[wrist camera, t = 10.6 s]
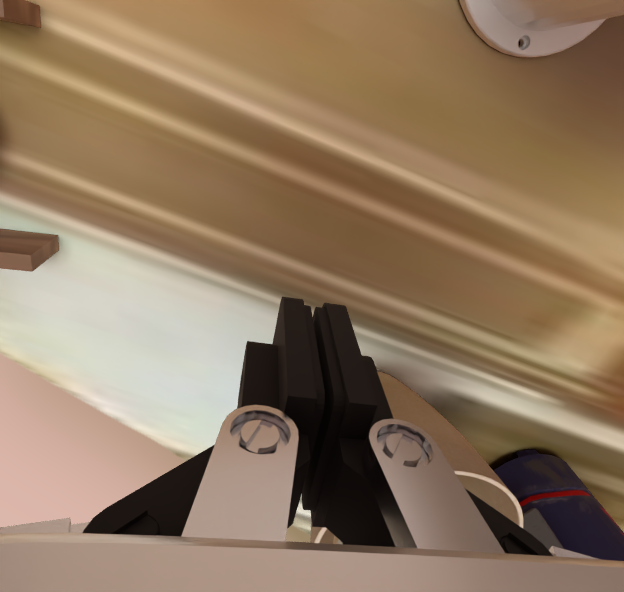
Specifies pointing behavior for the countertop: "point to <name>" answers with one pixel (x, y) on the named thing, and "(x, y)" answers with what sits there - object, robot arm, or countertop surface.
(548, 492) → the smoke canister
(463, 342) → the countertop surface
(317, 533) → the plant pot
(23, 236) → the box
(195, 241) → the countertop surface
